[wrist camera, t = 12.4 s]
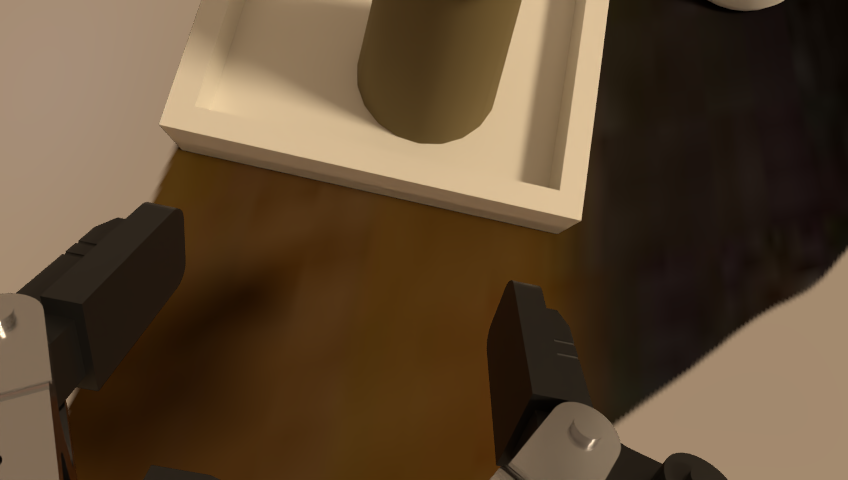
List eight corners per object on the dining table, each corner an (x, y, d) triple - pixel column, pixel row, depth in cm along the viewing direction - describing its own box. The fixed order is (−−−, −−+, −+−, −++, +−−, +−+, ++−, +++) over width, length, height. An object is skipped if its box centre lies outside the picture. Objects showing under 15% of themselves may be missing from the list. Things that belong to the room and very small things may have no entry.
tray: (182, 149, 20) (158, 124, 18) (271, -124, 23) (261, -175, 21) (557, 233, 22) (581, 220, 19) (594, -36, 25) (618, -76, 22)
